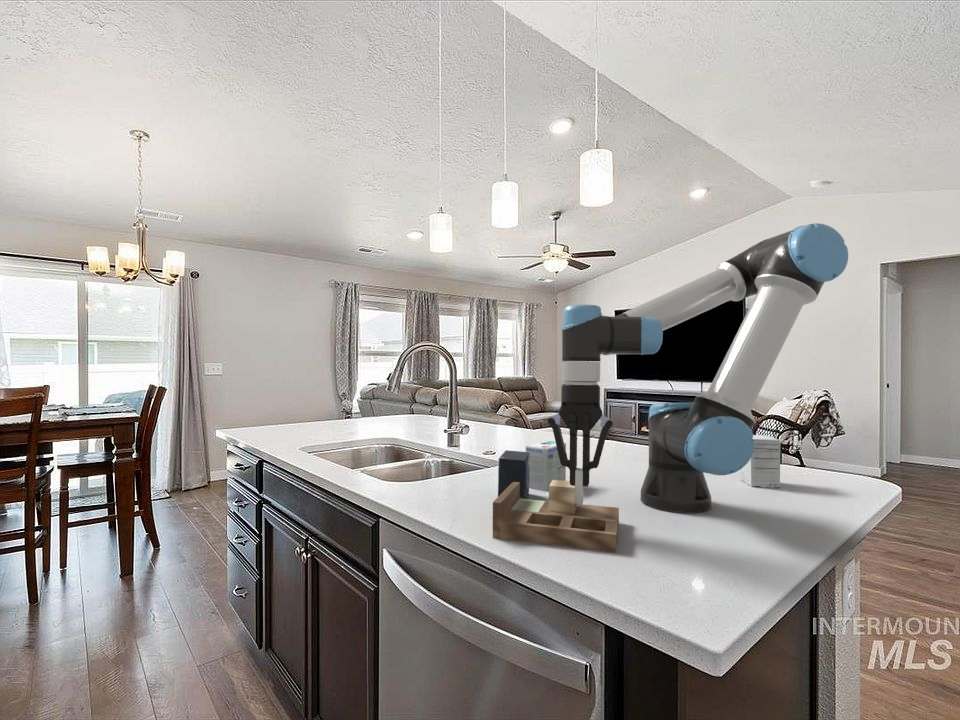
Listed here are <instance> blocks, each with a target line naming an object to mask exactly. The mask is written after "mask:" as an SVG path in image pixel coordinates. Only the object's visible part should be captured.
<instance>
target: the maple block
mask: <svg viewBox="0 0 960 720" xmlns="http://www.w3.org/2000/svg"><path fill="white" fill-rule="evenodd" d="M548 501H549V511H553V512H564V513H574V514H575V511H576V508H577V504H575V486H573V485H570V480H566V481H562V480H552V482H551V483H550V485H549V490H548Z"/></svg>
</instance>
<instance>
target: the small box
mask: <svg viewBox="0 0 960 720" xmlns="http://www.w3.org/2000/svg"><path fill="white" fill-rule="evenodd" d="M529 467H530V456H529V452H526V451H518V450H505V451H503V453H502V454H501V455H500V456H499V458H498V470H497V471H498V473H497V476H498V477H497V480H498V483H497V498H498V497H499V495H500V494H501V493H502V492H503V491H504V490H505V489H506V488H507V487H508V486H509V485H510V484H511V483H512V482H520V499H528V497H529V494H530V488H529Z"/></svg>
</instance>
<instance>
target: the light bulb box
mask: <svg viewBox="0 0 960 720" xmlns="http://www.w3.org/2000/svg"><path fill="white" fill-rule="evenodd" d="M564 445H565V450H566V451H567V443H566V442H564ZM525 452H529V456H530V467H529V489H535V490H540V491H546V492H549V485H550V483H551V482H552V480H562V481H567V480H566V477H567V474H566V473H567V472H566V468H567V467H566V466H562V465H561V463H560V459H559V455H558V450H557V446H556V442H555V441H549V440H543V441H540V442H536V443H533V444H530V445H526V446H525Z"/></svg>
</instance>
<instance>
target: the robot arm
mask: <svg viewBox="0 0 960 720" xmlns="http://www.w3.org/2000/svg"><path fill="white" fill-rule="evenodd" d="M848 263H849V249H848V246H847V245H846V244H845V239H844V237H843V236H842V235H841V233H839V231H837V230H836V229H835V228H833V227H832V226H830V225H827V224H824V223H810V224H806V225H800V226H797V227H794V228H793V229H792V230H790V231H785V232H783V233H781V234H778V235H775V236H772V237H769V238H767V239H763V240H761V241H759V242H757V243H755V244H754V245H751V246H750V247H747V249H745V250H743V251H742V252H740V253H738V254H737V255H735V256H733V257H731V258H729V259H727V260H725V261H723V262H721V263H719V264H718V265H717V267H716V269H715V270H714V271H711V272H710V273H707V274H705V275H703V276H701V277H699V278H696V279H694V280H692V281H690V282H688V283H685V284H683V285H681V286H679V287H676V288H674V289H673V290H670V291H668V292H666V293H663V294H662V295H660V296H657V297H655V298H653V299H650V300H649V301H646V302H644V303H642V304H640V305H638V306H636V307H633V308H631V309H628V310H627V311H625V312H622V313H620V314H618V315H616V316H609V315H603V313H602V309H601V307H600V306H599V305H597V304H572V305H568V306H566V307H565V308H564V310H563V311H562V321H561V322H562V323H561V324H562V325H561V347H562V348H561V349H562V350H561V351H562V352H561V356H562V357H561V381H562V382H564V383H562V385H561V388H560V389H561V392H560V393H561V397H560V398H561V399H560V400H561V401H560V407H559V409H558V412H557V413H556V414H554V415H553V416H550V417H548V418H547V423H548V424H549V426H550V427H551V429H552V433H553V436H554V442H556V446H557V450H558V455H559V459H560V463H561V465H562V466H566V468H568V470H569V481H570V485H573V486H575V504H583V503H584V488H585V487H587V488H588V487H589V485H590V471H591V470H593V469H597V468H598V467H599V465H600V462H601V456H602V453H603V449H604V445H605V442H606V439H607V434H608V432H609V430H610V429H611V427H613V424H614V420H613V419H612V418H608V417H607V416H606V415H604V414H603V410H602V408H601V387H600V385H599V384H598V383H599V382H601V356H610V355H611V356H612V355H641V356H643V355H654V354H656V353H658V352H659V350H660V349H661V346H662V345H663V338H664V337H663V336H664V335H663V334H664V332H663V331H665V330H668V329H670V328H672V327H675V326H677V325H679V324H681V323H683V322H686V321H688V320H690V319H692V318H695V317H697V316H698V315H700V314H703V313H705V312H708V311H710V310H712V309H714V308H717V307H718V306H720V305H722V304H725V303H726V302H730V301H732V302H740V301H742V300H744V299H746V298H748V297H753V296H754V299H753V300H752V303H751V304H750V306H749V308H748V310H747V312H746V314H745V316H744V318H743V320H742V322H741V324H740V326H739V328H738V330H737V332H736V334H735V336H734V338H733V340H732V343H731V344H730V347H729V348H728V350H727V352H726V354H725V356H724V357H723V360H722V362H721V364H720V366H719V368H718V370H717V372H716V374H715V376H714V378H713V380H712V382H711V384H710V385H709V388H708V390H707V391H706V392H703V393H700V394H697V395H696V396H695V397H694V400H693V402H669V403H668V402H663V403H662V402H661V403H660V402H659V403H654V404H651V406H650V407H649V411H648V413H649V414H648V418H647V421H648V469H647V471H646V473H645V476H644V477H645V478H644V480H643V483H642V486H641V489H640V501H641V503H643V504H644V505H645V506H648V507H650V508H653V509H658V510H661V511H667V512H674V513H691V514H692V513H693V514H695V513H702V512H707V511H709V510H711V509H712V495H711V493H710V492H711V491H710V489H709V486H708V483H707V480H706V477H705V474H710V475H714V476H727V475H730V474H735V473H736V472H737V473H738V472H739V471H740V470H741V469H742V468H743V467H744V466H745V465H746V464H747V463H748V462H749V460H750V459H751V457H752V455H753V452H754V446H755V442H754V441H753V435H754V433H753V431H752V428H753V427H754V424H755V421H756V420H755V418H754V415H753V413H752V408H753V406H755V405H754V404H755V402H756V401H757V399H758V396H759V395H760V393H761V391H762V388H763V387H764V384H765V382H766V381H767V378H768V377H769V374H770V373H771V371H772V368H773V366H774V364H775V363H776V361H777V359H778V356H779V354H780V352H781V351H782V348H783V347H784V345H785V342H786V341H787V339H788V336H789V334H790V332H791V331H792V329H793V326H794V324H795V323H796V321H797V318H798V317H799V314H800V313H801V311H802V308H803V306H804V305H808V304H812V303H813V302H815V301H816V300H817V298H818V295H819V294H820V291H821V290H822V288H823V286H824V284H825V283H827V282H830V281H833V280H835V279H836V278H838V277H840V276H841V275H842V274H843V273H844V272H845V270H846V268H847V265H848ZM561 420H562V421H563V422H564V424H565V426H566V427H567V428H568V429H569V459H568V454H567V449H566V450H565V445H564V443H565V442H564V438H563V433H562V428H561V426H560V425H561V423H562V421H561ZM599 421H600V424H599V425H600V428H601V430H600V434H599V436H598V437H599V438H598V440H597V445H596V447H595V448H596V449H595V452H594V455H593V460H590V459H591V430H592V429H593V428H594V427H595V426H596V424H597V423H598V422H599ZM578 431H582V467H577V466H578ZM583 505H584V504H583Z"/></svg>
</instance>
